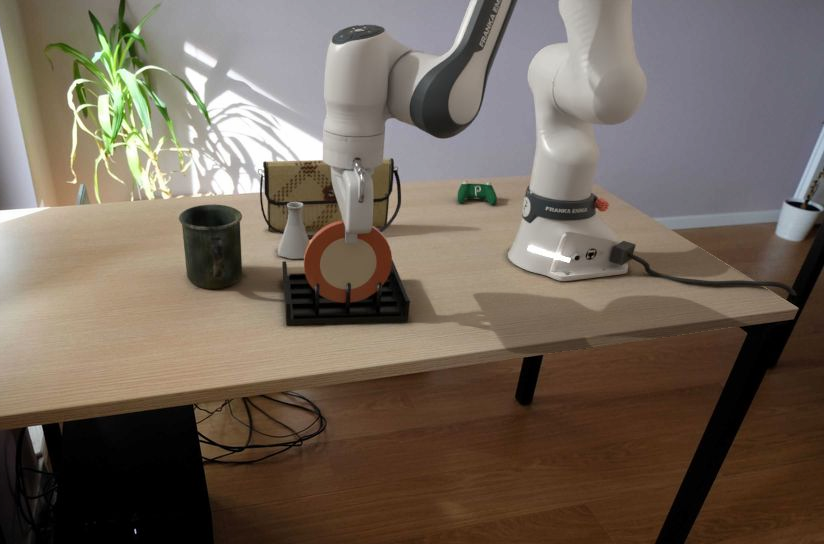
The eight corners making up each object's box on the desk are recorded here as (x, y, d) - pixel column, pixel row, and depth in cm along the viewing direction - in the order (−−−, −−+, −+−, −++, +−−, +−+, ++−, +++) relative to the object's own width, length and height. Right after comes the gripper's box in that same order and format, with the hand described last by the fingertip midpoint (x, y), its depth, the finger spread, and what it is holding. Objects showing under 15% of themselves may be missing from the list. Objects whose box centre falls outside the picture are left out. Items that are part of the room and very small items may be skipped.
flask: (309, 262, 128) (309, 212, 123) (272, 258, 129) (271, 209, 124) (316, 247, 134) (317, 199, 129) (282, 243, 135) (281, 196, 130)
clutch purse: (261, 241, 136) (259, 169, 128) (259, 228, 142) (256, 159, 134) (402, 235, 140) (408, 165, 132) (394, 223, 146) (399, 155, 138)
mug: (239, 261, 127) (236, 202, 121) (253, 296, 115) (250, 232, 109) (182, 267, 125) (176, 206, 118) (190, 303, 113) (183, 238, 106)
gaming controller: (494, 210, 159) (494, 187, 161) (497, 203, 156) (497, 179, 157) (455, 208, 160) (456, 185, 161) (458, 201, 156) (458, 178, 158)
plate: (387, 298, 110) (393, 218, 102) (388, 302, 109) (395, 221, 101) (303, 300, 108) (303, 219, 101) (303, 304, 107) (304, 222, 100)
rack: (390, 278, 122) (393, 243, 119) (408, 322, 109) (411, 283, 105) (282, 281, 121) (282, 245, 117) (286, 325, 107) (285, 286, 103)
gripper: (387, 171, 87) (380, 266, 94) (364, 131, 104) (360, 214, 112) (339, 171, 87) (336, 267, 94) (325, 131, 104) (323, 214, 111)
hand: (349, 238), depth 103 cm, fingers closed on plate, 1 cm apart
